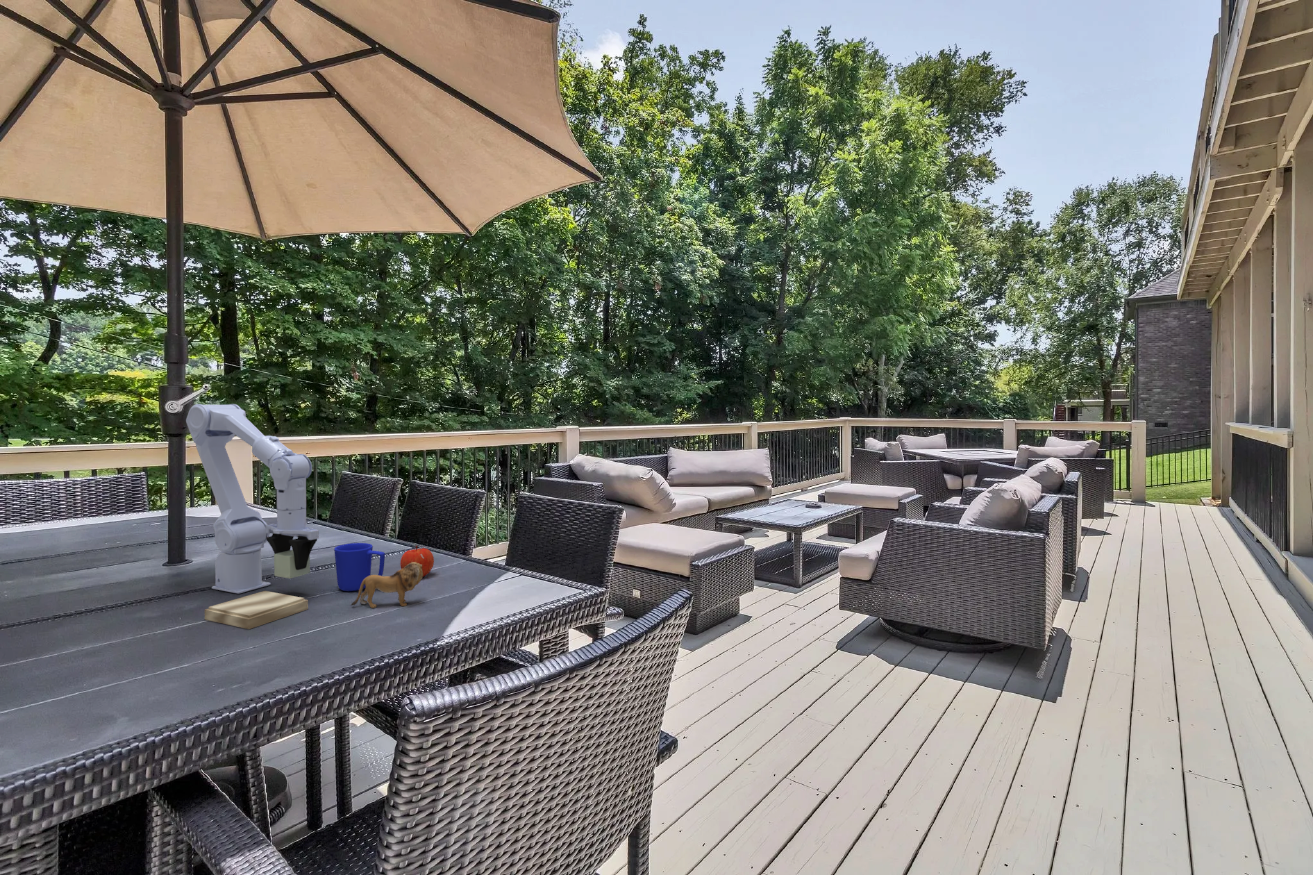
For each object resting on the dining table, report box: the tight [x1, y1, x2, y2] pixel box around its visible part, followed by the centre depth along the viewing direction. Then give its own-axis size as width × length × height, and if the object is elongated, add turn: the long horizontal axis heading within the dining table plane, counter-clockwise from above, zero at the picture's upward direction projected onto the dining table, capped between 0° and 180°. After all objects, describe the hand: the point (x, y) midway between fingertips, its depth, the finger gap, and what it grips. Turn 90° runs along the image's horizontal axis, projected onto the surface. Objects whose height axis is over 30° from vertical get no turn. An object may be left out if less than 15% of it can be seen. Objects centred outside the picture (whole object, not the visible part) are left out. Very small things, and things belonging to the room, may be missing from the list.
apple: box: [399, 545, 435, 578], centre depth 161 cm, size 8×8×8 cm
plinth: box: [204, 590, 309, 630], centre depth 131 cm, size 13×13×2 cm
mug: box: [333, 542, 386, 592], centre depth 149 cm, size 8×12×10 cm
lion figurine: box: [350, 562, 423, 609], centre depth 139 cm, size 15×5×9 cm, turn 112°
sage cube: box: [273, 549, 311, 579], centre depth 144 cm, size 5×5×5 cm
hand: (292, 567), depth 144 cm, fingers closed on sage cube, 5 cm apart
